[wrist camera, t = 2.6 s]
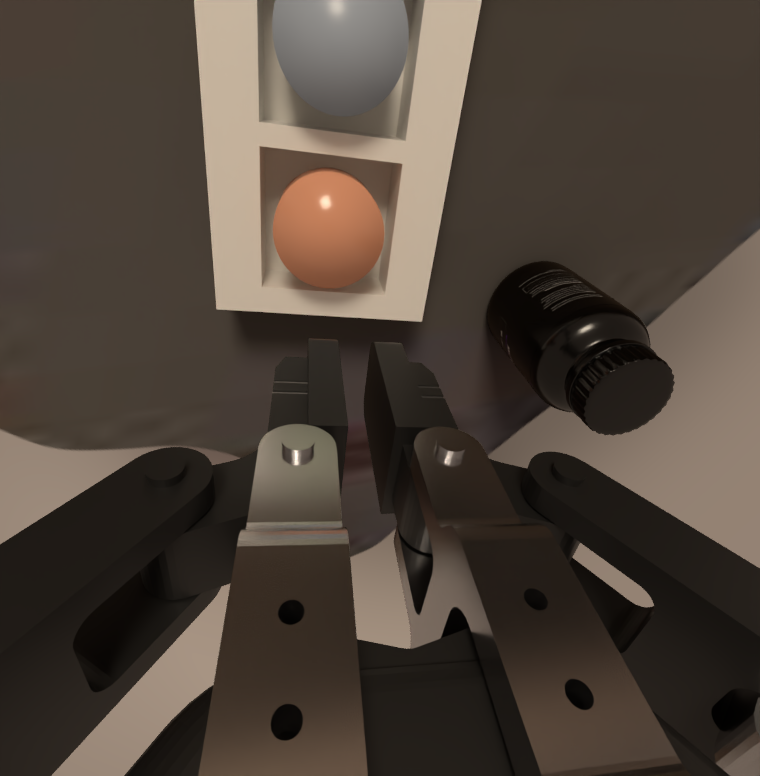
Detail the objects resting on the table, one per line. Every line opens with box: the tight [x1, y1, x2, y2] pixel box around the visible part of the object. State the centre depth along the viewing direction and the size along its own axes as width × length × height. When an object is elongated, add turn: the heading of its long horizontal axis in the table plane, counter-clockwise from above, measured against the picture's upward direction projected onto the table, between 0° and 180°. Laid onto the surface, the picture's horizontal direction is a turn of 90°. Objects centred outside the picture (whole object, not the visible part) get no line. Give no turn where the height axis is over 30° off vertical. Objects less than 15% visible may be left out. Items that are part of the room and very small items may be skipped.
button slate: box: [272, 0, 409, 117], centre depth 20 cm, size 6×6×3 cm
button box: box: [194, 0, 482, 322], centre depth 21 cm, size 26×12×4 cm, turn 173°
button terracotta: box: [273, 167, 384, 288], centre depth 24 cm, size 6×6×3 cm
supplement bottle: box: [488, 261, 674, 435], centre depth 28 cm, size 7×7×12 cm
